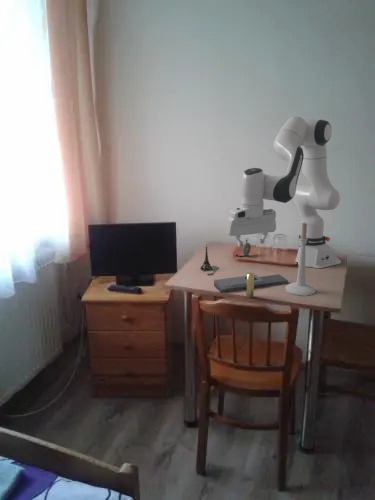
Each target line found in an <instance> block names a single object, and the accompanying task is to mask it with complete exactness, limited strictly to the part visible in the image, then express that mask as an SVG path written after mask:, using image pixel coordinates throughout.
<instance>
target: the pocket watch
mask: <svg viewBox="0 0 375 500" xmlns="http://www.w3.org/2000/svg"><path fill="white" fill-rule="evenodd" d="M248 241H249V238H246V239H245V243H244V244H243V246H242V252H243V254H244V255H238V256H237V257H240V256H242V257H246V256H248V255H249V254H250V252H251V249H252V248H251V247H252V246H251V244H250V243H249V242H248ZM245 255H246V256H245ZM234 256H236V254H235V253H234Z"/></svg>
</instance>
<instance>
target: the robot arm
mask: <svg viewBox="0 0 375 500" xmlns="http://www.w3.org/2000/svg"><path fill="white" fill-rule="evenodd" d="M331 137H332V125H331V123H330V122H329V121H328V120H325V119H309V118H308V119H304V118H303V117H300V116H297V115H296V116H291V117H290V118H288V119H287V120H286V121H285V123H284V124H283V125H282V127H281V128H280V129H279V131H278V133H277V134H276V137H275V138H274V141H273V150H274V152H275V154H276V156H278V157H279V159H281V160H284V161H286V162H288V165H287V169H286V173H285V174H284V175H281V176H279V175H278V176H277V175H269V174H268V175H267V174H265V173H264V171H263V169H262V168H257V167H254V168H253V167H252V168H248V169H246V170H243V173H242V176H241V177H242V178H241V182H240V183H241V187H240V194H241V200H240V205H238V206H236V207H234V208H231V209H230V210H228V214H229V217H228V218H227V221H226V234H227V235H229V236H230V237H235V239H236V241H237V246H239V247H241V246H242V247H243V246H244V244H243V243H244V241H242V240H241V236H245V235H247V236H249V235H257V234H261V235H262V236H261V238H259V239H258V240H259V241H258V243H259V244H262V245H263V244H265V242H266V241H265V240H266V239H267V236H268V233H274V232H275V231H277V221H276V216H277V213H276V210H274V209H272V208H269V209H264V208H265V207H264V203H265V202H264V200H266V201H267V200H268V201H276V202H278V203H284V204H286V203H288V202H291V203H292V204H293V206H294V208H296V210H297V213H298V215H299V222H300V224H299V227H300V230H299V235H298V250H297V254H296V258H295V259H294V262H295V261H296V262H298V264H297V265H299V258H300V249H301V248H300V247H301V243H300V239H299V238H301V233H302V223H304V222H305V223H307V232H306V238H307V239H308V240H307V243H306V245H305V247H306V248H305V268H306V267H307V268H313V269H314V268H315V269H324V268H327V267H331V266H336V265H341V264H342V262H341V260H340V259H339V258H338V257H337V252H336V250H335V249H334V248H333V247H331V246H330V245H329V244H328V243H327V242H330V241H331V238H330V237H329V236H325V235H324V226H325V222H324V219H323V218H322V217H321V216H320V215H319V214H318V212H317V210H321V211H332V210H336V208H337V207H338V206H339V204H340V202H341V196H340V192H339V191H338V189H336V188H335V186H333V184H332V183H331V181H330V178H329V176H328V167H327V166H328V165H327V159H328V158H327V143H328V142H329V141H330V139H331ZM301 172H302V175H303V176H304V178H305V179H307V180H308V182H309V183H310V184H307V183H306V184H305V183H302V184H298V180H299V176H300V173H301ZM326 241H327V242H326ZM296 262H295V263H296Z"/></svg>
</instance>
